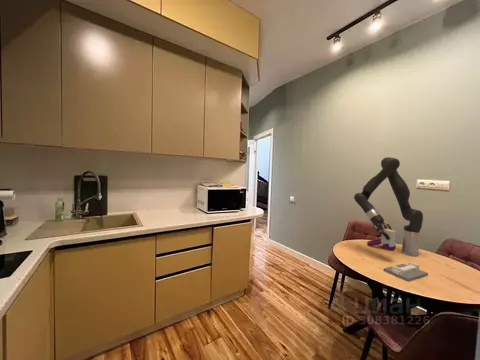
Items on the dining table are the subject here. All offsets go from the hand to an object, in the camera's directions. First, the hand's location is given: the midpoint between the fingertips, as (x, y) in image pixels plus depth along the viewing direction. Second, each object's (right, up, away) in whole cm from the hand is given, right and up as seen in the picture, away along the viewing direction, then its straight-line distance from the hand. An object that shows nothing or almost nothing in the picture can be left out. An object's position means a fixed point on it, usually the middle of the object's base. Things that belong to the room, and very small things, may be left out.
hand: (391, 238), depth 142 cm
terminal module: (-1, -5, +2) cm, 5 cm away
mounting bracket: (+11, -15, +29) cm, 35 cm away
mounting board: (-3, -16, -16) cm, 23 cm away
